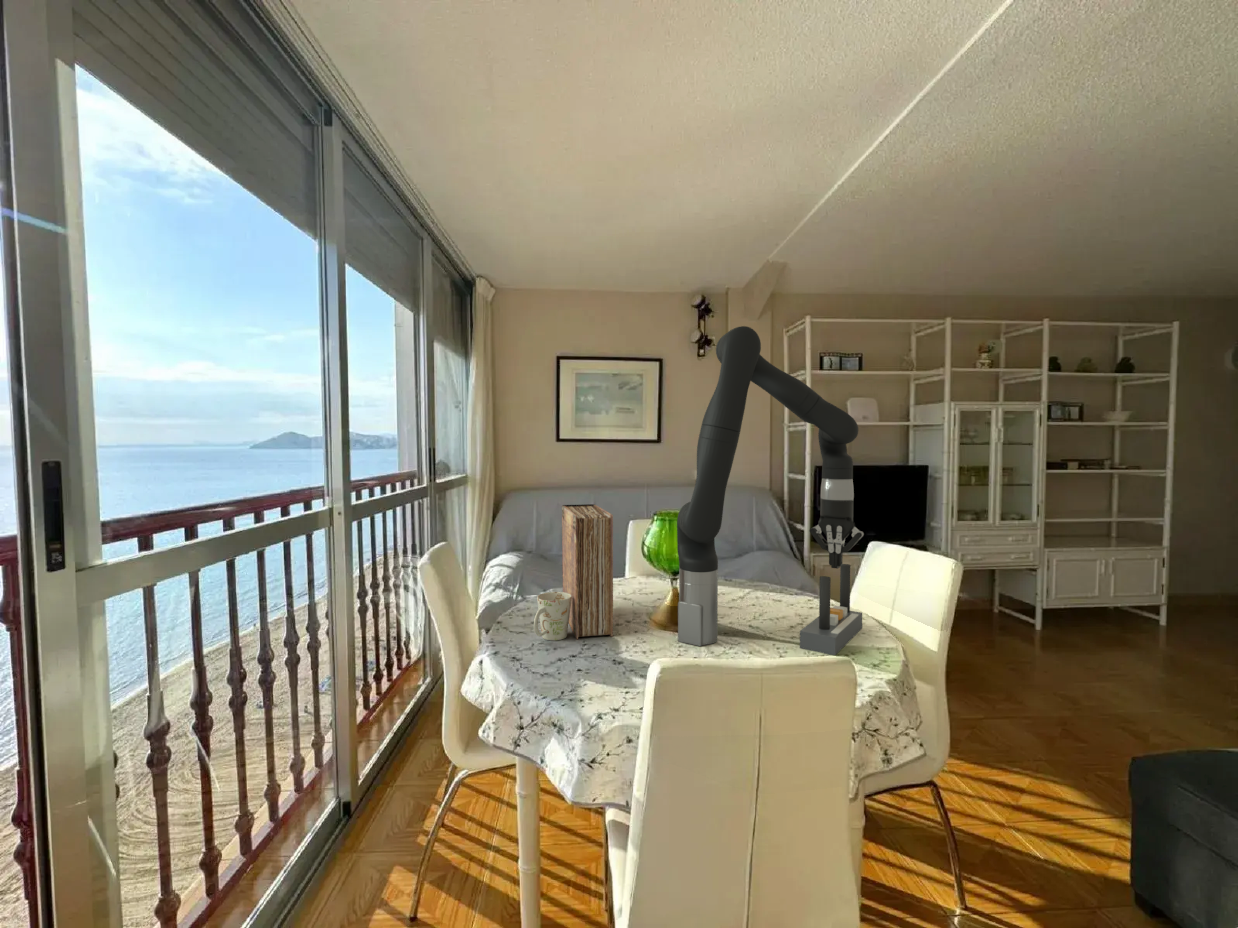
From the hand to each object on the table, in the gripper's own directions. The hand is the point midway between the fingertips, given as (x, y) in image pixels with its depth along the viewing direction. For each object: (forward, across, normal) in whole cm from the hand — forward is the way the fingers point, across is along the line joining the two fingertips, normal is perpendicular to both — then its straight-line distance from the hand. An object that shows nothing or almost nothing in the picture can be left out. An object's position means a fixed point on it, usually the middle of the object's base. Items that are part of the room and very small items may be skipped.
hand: (835, 567), depth 145 cm
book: (+17, -56, -28) cm, 65 cm away
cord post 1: (+13, 0, -8) cm, 15 cm away
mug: (+17, -55, -43) cm, 72 cm away
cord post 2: (+13, 0, +8) cm, 15 cm away
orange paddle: (+12, 0, 0) cm, 12 cm away
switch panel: (+17, 0, -2) cm, 17 cm away
